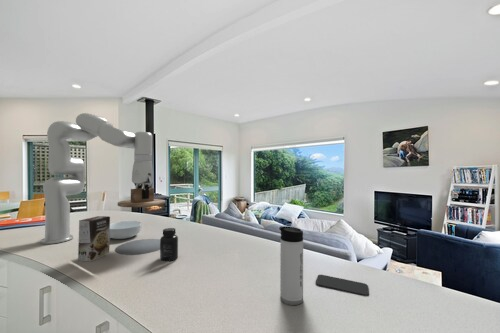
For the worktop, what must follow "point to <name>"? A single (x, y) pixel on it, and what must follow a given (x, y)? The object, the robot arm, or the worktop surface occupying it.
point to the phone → (342, 285)
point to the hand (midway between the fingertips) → (142, 197)
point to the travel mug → (291, 265)
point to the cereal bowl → (124, 229)
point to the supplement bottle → (169, 245)
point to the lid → (138, 201)
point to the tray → (138, 247)
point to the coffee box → (93, 238)
